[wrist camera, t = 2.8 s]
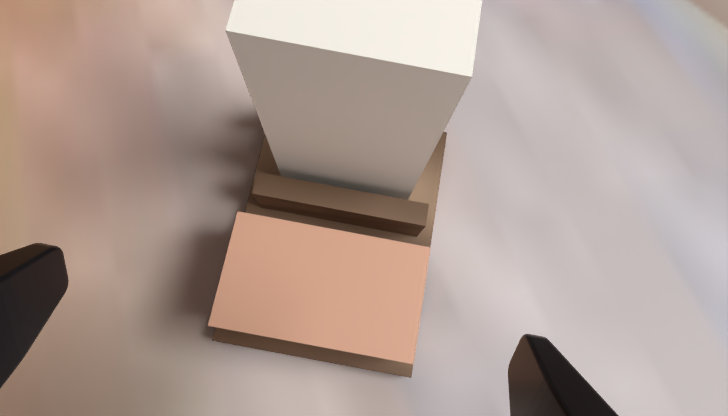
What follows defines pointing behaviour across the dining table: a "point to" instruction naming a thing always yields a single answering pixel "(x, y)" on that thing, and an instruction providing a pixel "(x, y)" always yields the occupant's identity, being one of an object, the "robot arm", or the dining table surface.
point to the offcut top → (322, 287)
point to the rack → (344, 214)
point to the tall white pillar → (355, 84)
